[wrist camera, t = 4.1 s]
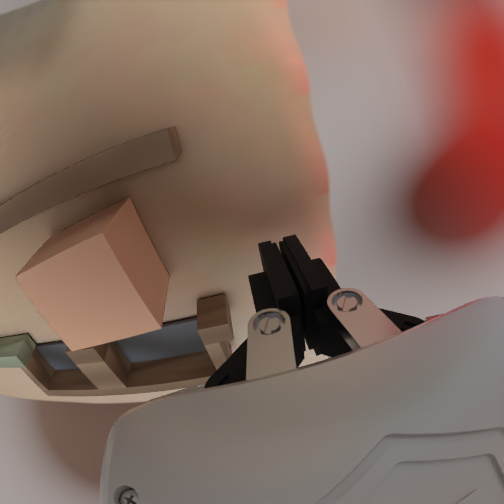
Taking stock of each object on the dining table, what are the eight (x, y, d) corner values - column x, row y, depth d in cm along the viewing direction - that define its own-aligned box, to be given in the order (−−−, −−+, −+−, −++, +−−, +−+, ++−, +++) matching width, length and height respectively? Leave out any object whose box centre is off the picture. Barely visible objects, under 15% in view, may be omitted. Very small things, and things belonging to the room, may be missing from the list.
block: (50, 237, 15) (14, 277, 11) (129, 197, 15) (102, 232, 11) (91, 303, 18) (71, 351, 14) (169, 276, 18) (161, 328, 14)
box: (-66, 256, 12) (-80, 271, 10) (175, 126, 13) (167, 129, 11) (12, 374, 21) (5, 392, 19) (243, 348, 22) (248, 376, 20)
